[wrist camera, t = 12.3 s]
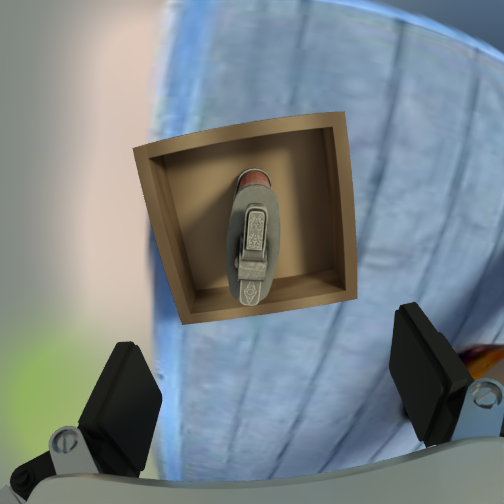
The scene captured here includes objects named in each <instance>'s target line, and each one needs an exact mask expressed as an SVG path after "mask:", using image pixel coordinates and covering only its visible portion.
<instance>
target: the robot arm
mask: <svg viewBox="0 0 504 504" xmlns="http://www.w3.org/2000/svg"><path fill="white" fill-rule="evenodd" d="M389 370H390V373H391V376H392V378H393V380H394V382H395V385H396V387H397V389H398V392H399V394H400V396H401V399H402V401H403V403H404V406H405V408H406V411H407V413H408V415H409V418H410V420H411V423H412V425H413V428H414V430H415V433H416V435H417V438H418V440H419V441H420V442H421V441H424V444H425V446H426V448H425V449H422V450H419V451H416V452H412V453H409V454H405V455H402V456H398V457H394V458H391V459H387V460H383V461H379V462H375V463H370V464H366V465H362V466H357V467H353V468H348V469H342V470H337V471H332V472H326V473H319V474H313V475H306V476H298V477H290V478H280V479H269V480H256V481H235V482H190V481H169V480H156V479H143V478H139V475H140V471H143V470H144V468H145V465H146V461H147V457H148V453H149V449H150V445H151V441H152V438H153V434H154V430H155V426H156V422H157V419H158V415H159V411H160V408H161V404H162V394H161V391H160V389H159V387H158V385H157V383H156V381H155V379H154V377H153V375H152V373H151V371H150V369H149V367H148V365H147V363H146V361H145V359H144V357H143V354H142V352H141V350H140V348H139V346H138V345H135V344H134V343H133V342H131V341H130V342H118V343H117V344H116V346H115V348H114V349H113V351H112V353H111V355H110V357H109V359H108V361H107V363H106V365H105V367H104V369H103V371H102V373H101V375H100V377H99V379H98V381H97V383H96V385H95V387H94V389H93V391H92V393H91V396H90V398H89V400H88V402H87V404H86V406H85V408H84V410H83V413H82V415H81V417H80V419H79V421H78V422H79V426H78V427H77V428H76V427H74V426H65V427H62V428H60V429H58V430H57V431H55V432H54V434H52V436H51V438H50V440H49V451H47V452H45V453H44V454H42V455H40V456H38V457H36V458H34V459H32V460H30V461H28V462H27V463H25V464H23V465H21V466H19V467H18V468H16V469H15V471H14V472H13V473H12V475H11V478H10V484H11V486H10V487H9V486H7V485H6V486H5V487H3V488H2V489H1V490H0V504H504V387H503V386H502V385H501V384H500V383H499V382H497V381H496V380H493V379H489V378H482V379H478V380H476V381H474V379H473V378H472V376H471V375H470V373H469V372H468V370H467V369H466V367H465V366H464V364H463V363H462V361H461V360H460V358H459V357H458V355H457V354H456V352H455V351H454V349H453V348H452V346H451V345H450V344H449V342H448V341H447V339H446V338H445V336H444V335H443V334H442V333H440V332H437V330H436V329H435V328H434V326H433V325H432V323H431V322H430V321H429V319H428V318H427V316H426V315H425V314H424V312H423V311H422V310H421V308H420V307H419V306H418V304H417V303H416V302H412V303H408V304H403V305H400V307H399V310H396V311H395V317H394V328H393V337H392V346H391V354H390V361H389ZM433 445H436V446H433ZM430 446H433V447H430ZM427 447H429V448H427Z"/></svg>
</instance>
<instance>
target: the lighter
mask: <svg viewBox="0 0 504 504" xmlns="http://www.w3.org/2000/svg"><path fill="white" fill-rule="evenodd" d="M280 229H281V226H280V214H279V204H278V200H277V197H276V194H275V192H274V191H273V190H272V184H271V179H270V176H269V174H268V173H267V172H266V171H265V170H263V169H261V168H257V167H251V168H248V169H245V170H244V171H243V172H242V173H241V174H240V176H239V179H238V182H237V186H236V190H235V194H234V199H233V206H232V212H231V215H230V219H229V225H228V233H227V241H226V271H227V277H228V283H229V289H230V292H231V295H232V296H233V297H234V298H235V299H236V300H238V301H240V302H241V303H242V304H243V305H249V306H253V305H256V304H258V302H259V301H261V300H263V299H264V298H266V296H267V294H268V293H269V290H270V287H271V284H272V281H273V278H274V275H275V271H276V266H277V261H278V256H279V251H280Z"/></svg>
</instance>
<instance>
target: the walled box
mask: <svg viewBox="0 0 504 504" xmlns="http://www.w3.org/2000/svg"><path fill="white" fill-rule="evenodd" d="M133 152H134V157H135V161H136V165H137V170H138V174H139V178H140V182H141V187H142V191H143V195H144V199H145V202H146V206H147V210H148V214H149V218H150V221H151V225H152V229H153V232H154V236H155V239H156V243H157V246H158V250H159V253H160V257H161V260H162V264H163V267H164V270H165V273H166V277H167V280H168V283H169V286H170V289H171V293H172V296H173V299H174V302H175V305H176V308H177V311H178V314H179V317H180V320H181V323H182V325H185V324H194V323H202V322H211V321H219V320H227V319H235V318H242V317H249V316H256V315H263V314H270V313H277V312H283V311H290V310H296V309H302V308H308V307H314V306H320V305H326V304H332V303H337V302H343V301H348V300H353V299H357V249H356V226H355V209H354V195H353V183H352V171H351V161H350V152H349V143H348V134H347V126H346V119H345V111H344V112H326V113H316V114H306V115H298V116H290V117H282V118H274V119H267V120H261V121H254V122H248V123H242V124H236V125H231V126H225V127H220V128H215V129H210V130H205V131H200V132H195V133H190V134H186V135H181V136H177V137H173V138H169V139H164V140H160V141H156V142H152V143H149V144H145V145H142V146H139V147H135V148H133ZM251 167H257V168H261V169H263V170H265V171H266V172H267V173H268V174H269V176H270V179H271V184H272V190H273V191H274V192H275V194H276V197H277V200H278V204H279V214H280V226H281V229H280V251H279V256H278V261H277V266H276V271H275V275H274V278H273V281H272V284H271V287H270V290H269V293H268V294H267V296H266V298H264V299H263V300H261V301H259V302H258V304H256V305H253V306H249V305H243V304H242V303H241V302H240V301H238V300H236V299H235V298H234V297H233V296H232V295H231V292H230V289H229V283H228V277H227V271H226V241H227V233H228V225H229V219H230V215H231V212H232V206H233V199H234V194H235V190H236V186H237V182H238V179H239V176H240V174H241V173H242V172H243V171H244V170H245V169H248V168H251Z"/></svg>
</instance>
